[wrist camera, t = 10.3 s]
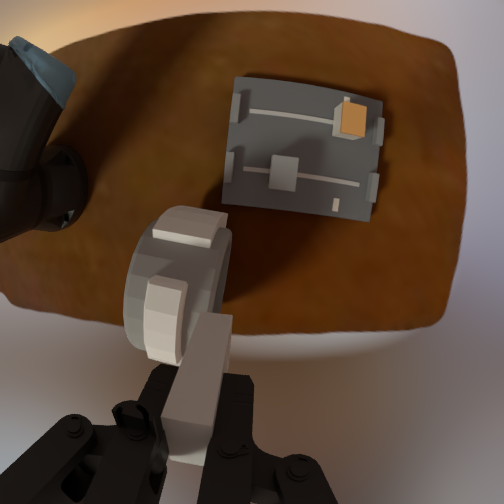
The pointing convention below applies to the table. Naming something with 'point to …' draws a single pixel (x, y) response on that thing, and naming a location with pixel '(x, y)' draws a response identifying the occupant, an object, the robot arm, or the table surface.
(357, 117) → the fader
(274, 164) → the fader
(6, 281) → the table surface
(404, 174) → the table surface
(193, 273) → the alarm clock
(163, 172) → the table surface
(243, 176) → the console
